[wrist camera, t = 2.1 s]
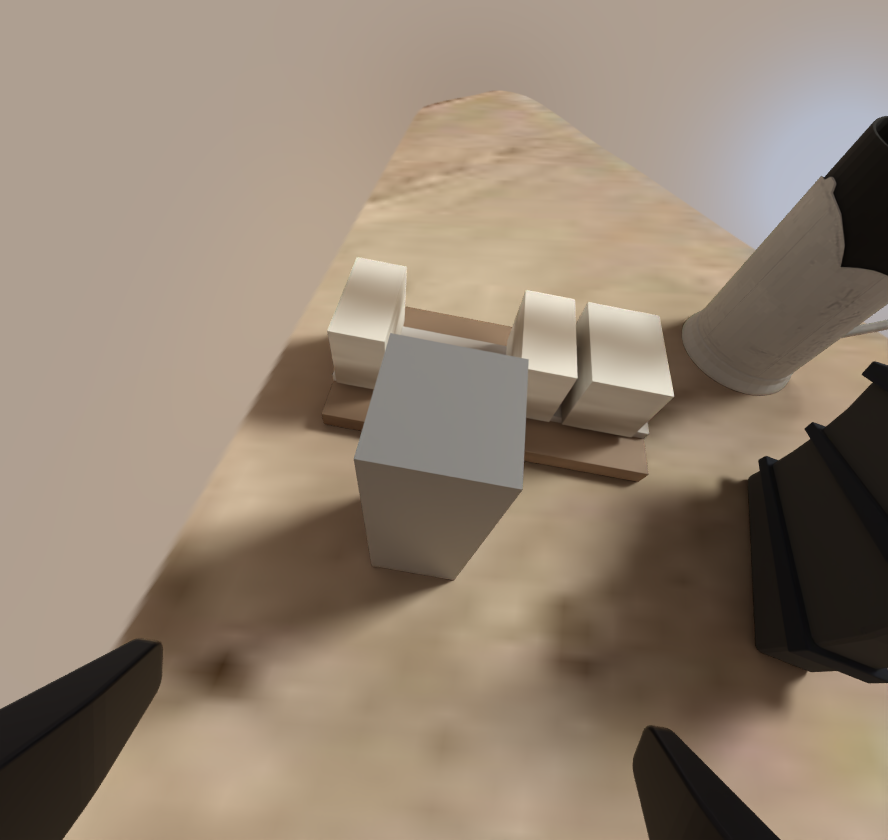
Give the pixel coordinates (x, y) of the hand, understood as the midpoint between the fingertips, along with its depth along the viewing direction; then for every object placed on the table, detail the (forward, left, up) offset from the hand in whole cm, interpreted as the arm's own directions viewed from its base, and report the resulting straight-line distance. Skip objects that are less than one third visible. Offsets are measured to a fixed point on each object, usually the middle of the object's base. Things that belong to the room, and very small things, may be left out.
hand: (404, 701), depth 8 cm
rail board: (+12, +13, -14) cm, 22 cm away
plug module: (+4, +6, -14) cm, 15 cm away
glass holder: (+35, +8, -14) cm, 39 cm away
